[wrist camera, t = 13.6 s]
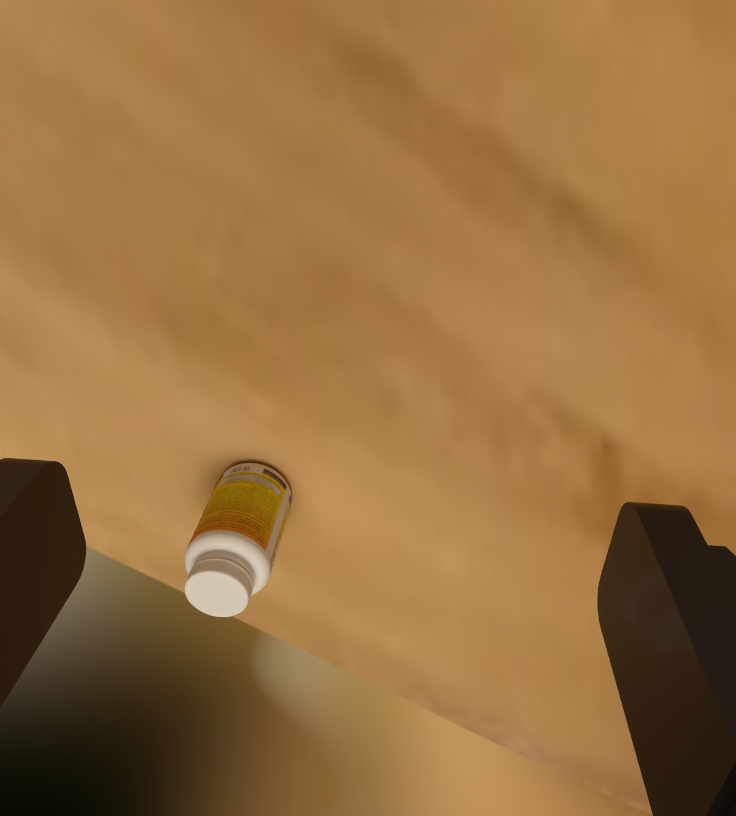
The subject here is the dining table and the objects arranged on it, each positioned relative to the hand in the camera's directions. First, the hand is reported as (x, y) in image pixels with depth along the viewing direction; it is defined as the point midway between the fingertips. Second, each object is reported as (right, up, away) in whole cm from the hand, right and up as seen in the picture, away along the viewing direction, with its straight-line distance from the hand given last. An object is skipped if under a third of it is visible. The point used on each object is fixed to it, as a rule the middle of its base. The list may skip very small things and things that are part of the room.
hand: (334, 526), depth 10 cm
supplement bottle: (-8, -4, +39) cm, 40 cm away
